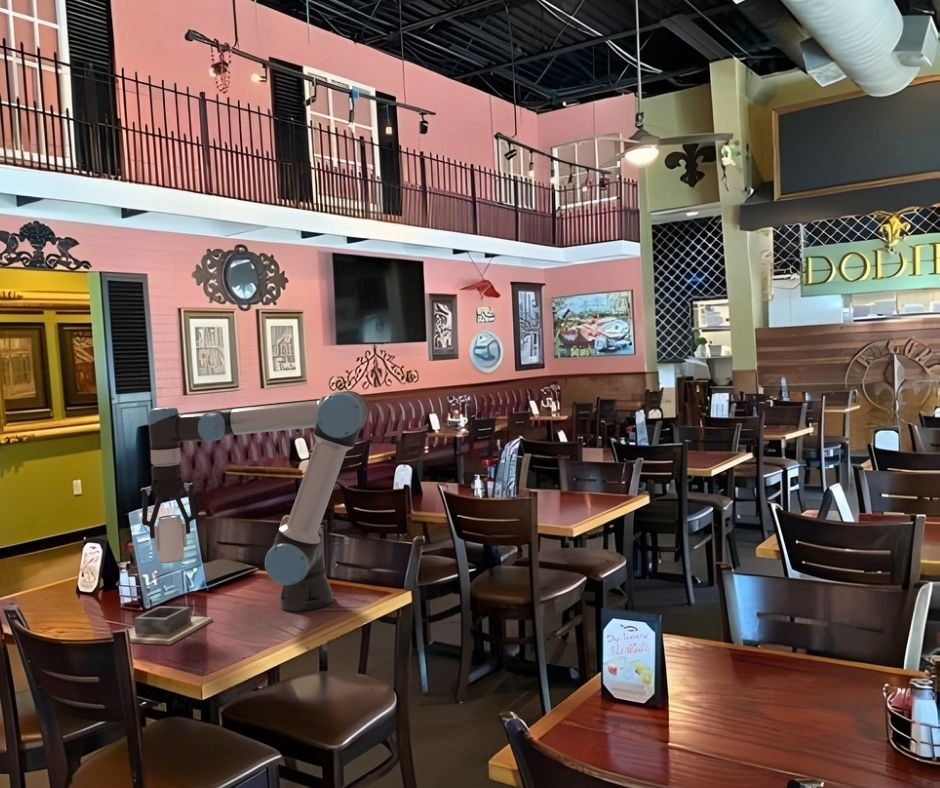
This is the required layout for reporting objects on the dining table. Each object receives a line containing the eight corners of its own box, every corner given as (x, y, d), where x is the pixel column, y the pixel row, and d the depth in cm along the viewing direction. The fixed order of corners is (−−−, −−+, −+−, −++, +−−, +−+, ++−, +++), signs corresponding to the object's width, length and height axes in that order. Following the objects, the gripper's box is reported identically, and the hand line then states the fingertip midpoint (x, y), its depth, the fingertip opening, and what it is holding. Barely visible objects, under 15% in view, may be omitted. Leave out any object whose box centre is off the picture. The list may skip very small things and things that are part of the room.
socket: (212, 620, 214) (211, 603, 213) (169, 644, 196) (168, 625, 196) (158, 618, 219) (157, 601, 219) (112, 641, 202) (110, 622, 201)
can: (188, 557, 214) (186, 514, 213) (176, 563, 207) (174, 519, 207) (167, 557, 214) (164, 514, 214) (154, 563, 208) (151, 519, 208)
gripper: (201, 459, 217) (206, 540, 218) (126, 466, 209) (131, 550, 210) (205, 462, 211) (210, 545, 211) (127, 469, 202) (133, 556, 203)
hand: (171, 547), depth 211 cm, fingers closed on can, 6 cm apart
